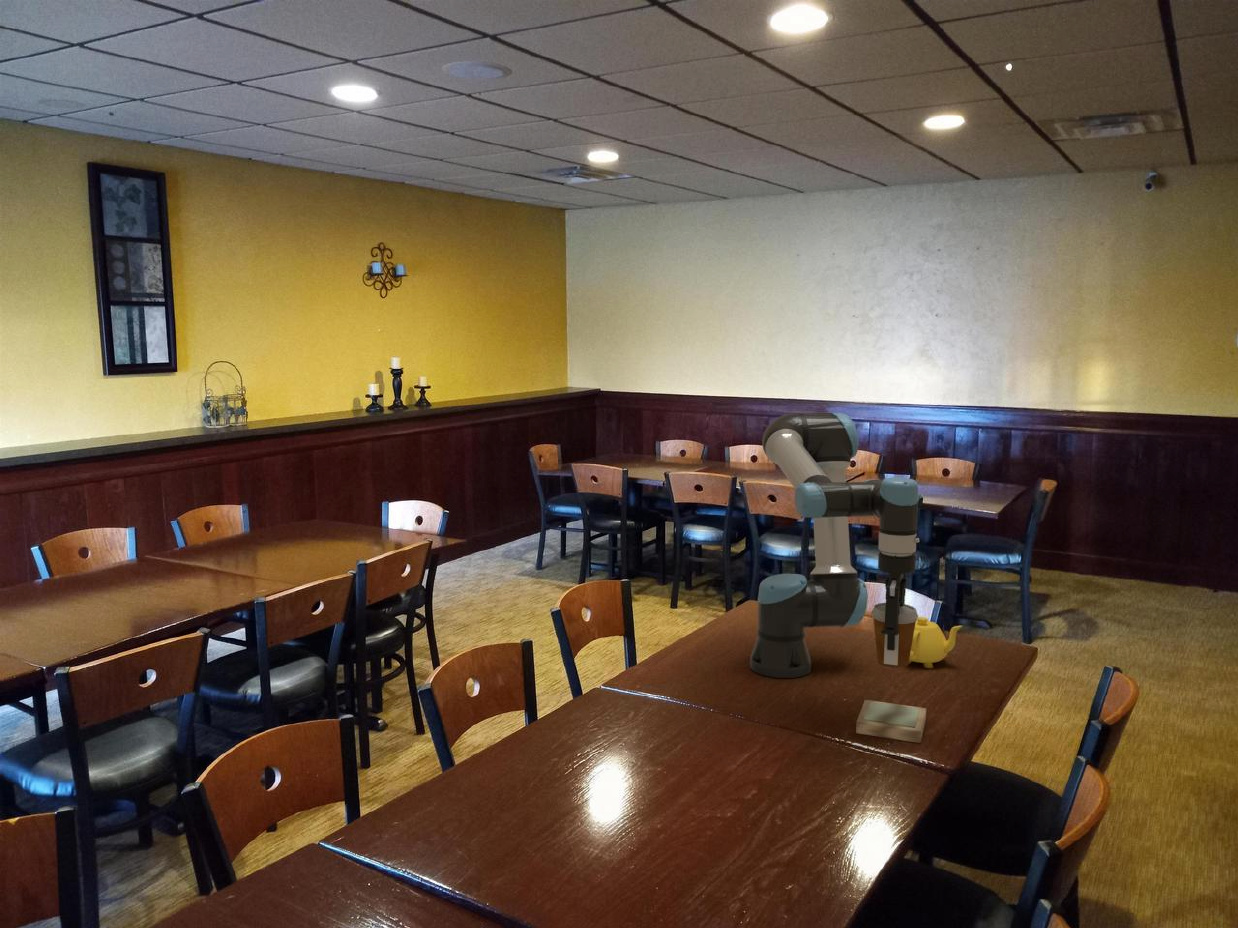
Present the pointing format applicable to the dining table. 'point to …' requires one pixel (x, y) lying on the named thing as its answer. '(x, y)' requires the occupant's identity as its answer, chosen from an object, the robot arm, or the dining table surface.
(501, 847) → the dining table surface
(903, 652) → the disposable coffee cup
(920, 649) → the teapot
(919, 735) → the trivet
